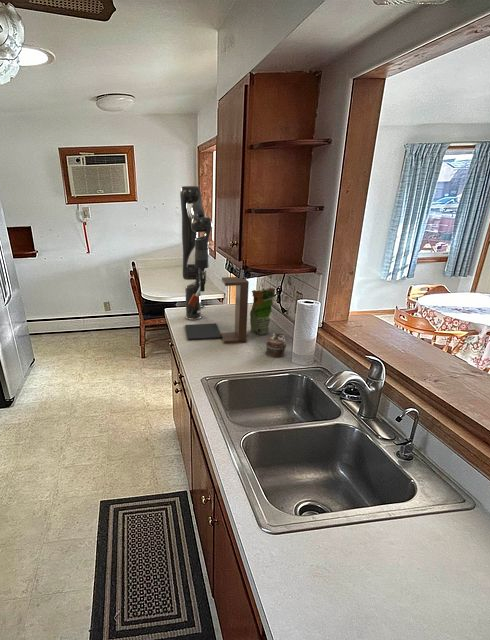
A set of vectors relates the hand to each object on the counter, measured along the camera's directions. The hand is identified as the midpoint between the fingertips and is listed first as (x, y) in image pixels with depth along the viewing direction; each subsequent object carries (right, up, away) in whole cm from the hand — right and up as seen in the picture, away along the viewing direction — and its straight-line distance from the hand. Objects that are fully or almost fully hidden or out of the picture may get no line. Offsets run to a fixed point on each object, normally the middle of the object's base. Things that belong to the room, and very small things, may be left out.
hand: (202, 290), depth 210 cm
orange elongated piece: (-4, 0, 0) cm, 4 cm away
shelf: (+17, -26, -1) cm, 31 cm away
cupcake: (+34, -35, -20) cm, 53 cm away
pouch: (+33, -22, +7) cm, 40 cm away
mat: (+1, -22, +10) cm, 24 cm away
